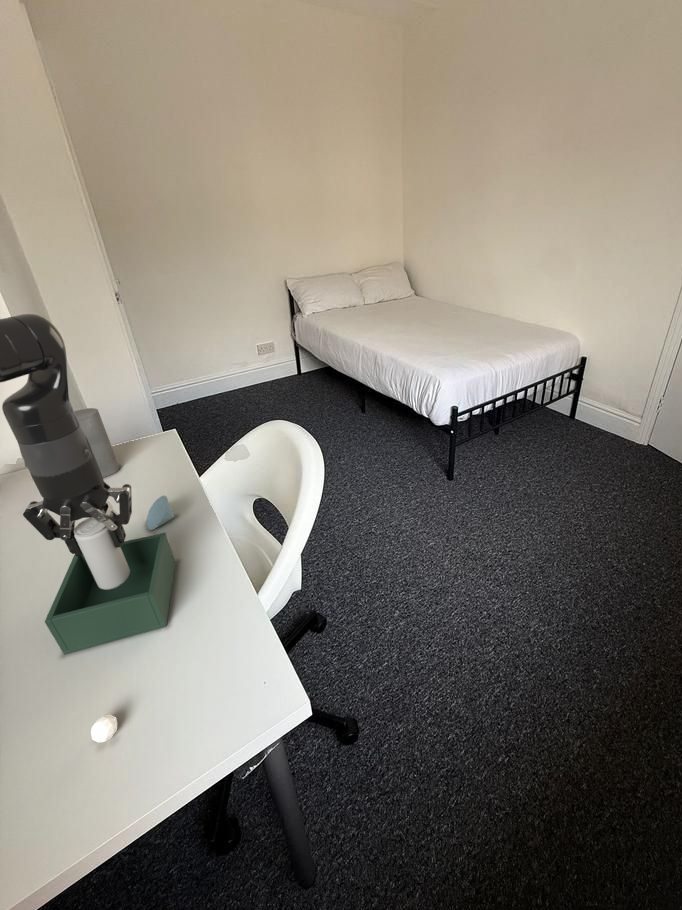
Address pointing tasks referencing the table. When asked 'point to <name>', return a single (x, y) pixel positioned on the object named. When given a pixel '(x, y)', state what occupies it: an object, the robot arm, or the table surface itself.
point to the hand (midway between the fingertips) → (100, 547)
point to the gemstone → (159, 513)
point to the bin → (114, 598)
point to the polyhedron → (104, 728)
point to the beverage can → (101, 554)
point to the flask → (98, 440)
